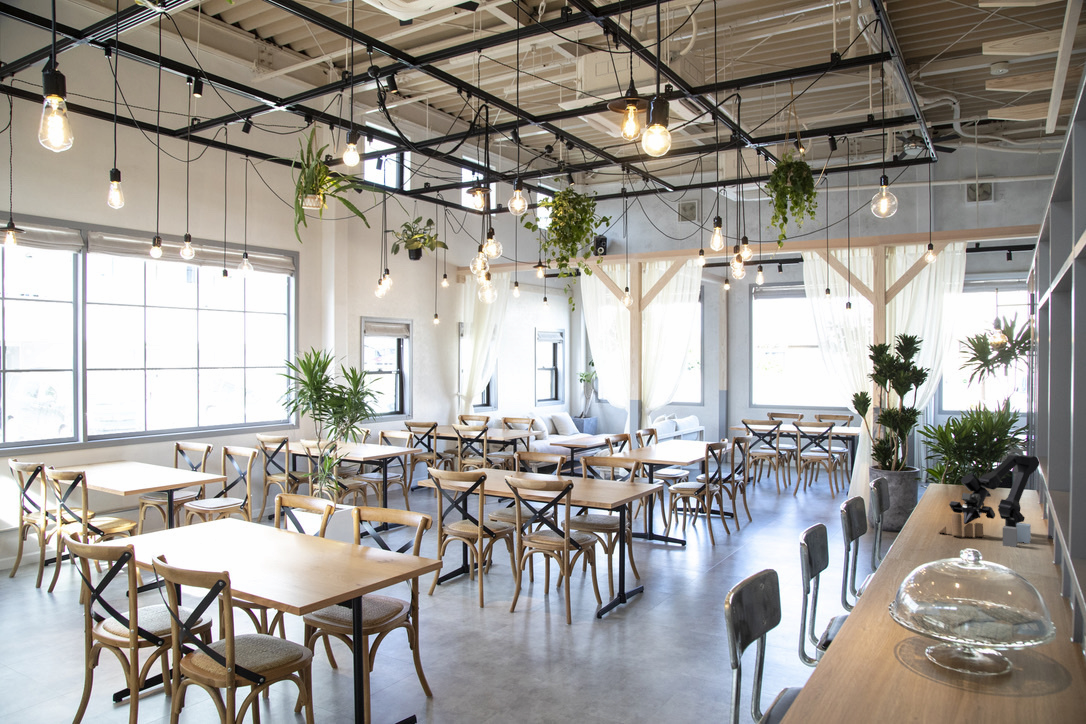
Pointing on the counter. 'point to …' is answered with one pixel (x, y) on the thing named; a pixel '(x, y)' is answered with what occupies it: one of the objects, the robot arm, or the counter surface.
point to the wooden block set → (967, 529)
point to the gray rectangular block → (1010, 536)
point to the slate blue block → (1023, 532)
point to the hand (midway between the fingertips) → (965, 523)
